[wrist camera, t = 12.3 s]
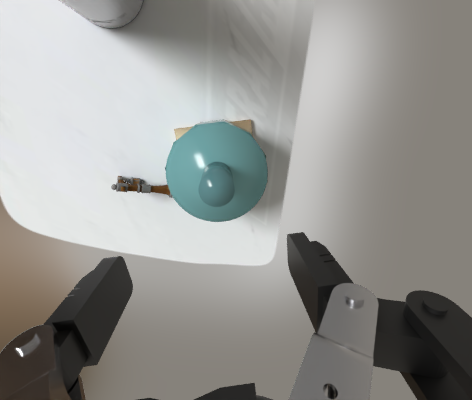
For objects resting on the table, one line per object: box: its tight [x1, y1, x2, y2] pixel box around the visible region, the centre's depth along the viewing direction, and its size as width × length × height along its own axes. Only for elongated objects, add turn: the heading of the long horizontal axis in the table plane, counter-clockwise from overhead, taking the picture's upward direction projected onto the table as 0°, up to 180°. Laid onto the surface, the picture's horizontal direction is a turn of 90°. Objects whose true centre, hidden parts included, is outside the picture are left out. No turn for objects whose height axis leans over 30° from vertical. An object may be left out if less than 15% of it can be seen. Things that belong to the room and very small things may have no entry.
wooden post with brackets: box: [111, 176, 173, 197], centre depth 33 cm, size 2×8×4 cm, turn 76°
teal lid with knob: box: [165, 120, 268, 222], centre depth 27 cm, size 12×12×13 cm
